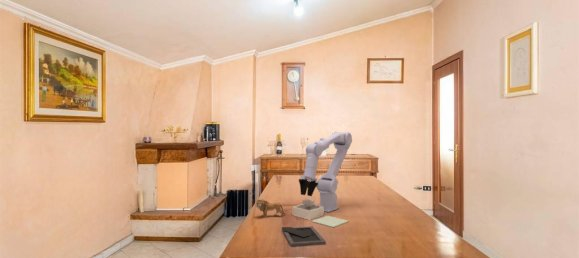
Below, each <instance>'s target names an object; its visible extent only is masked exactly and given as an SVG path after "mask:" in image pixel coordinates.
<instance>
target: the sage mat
mask: <svg viewBox="0 0 579 258" xmlns="http://www.w3.org/2000/svg"><path fill="white" fill-rule="evenodd" d="M311 222H312V223H314V224H319V225H323V226H325V227H329V228H336V227H338V226H342V225H344V224H346V223H349V220H348V219H347V220H346V219H342V218H338V217H334V216H331V215H326V216H321V217H318V218H315V219H312V220H311Z"/></svg>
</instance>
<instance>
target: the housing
mask: <svg viewBox="0 0 579 258" xmlns="http://www.w3.org/2000/svg"><path fill="white" fill-rule="evenodd" d="M303 205H305V204H302V203H301V204H298V205H294V206H292V211H291V212H292V213H291V214H292V216H293V217H297V218H300V219H305V220H309V221H310V220H311V221H312V220H315V219H318V218H321V217H324V215H325V211H324V207H323V206H320V205H316V204H314V205H312V206H316V207H320V208H317V209H313V210H310V211H309V210H305V209H301V208H297V207H300V206H303Z"/></svg>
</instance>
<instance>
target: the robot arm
mask: <svg viewBox="0 0 579 258" xmlns="http://www.w3.org/2000/svg"><path fill="white" fill-rule="evenodd" d="M352 143H353V135H352V134H351V132H349V131H348V132H338V131H335V132H332V133H331V135H330V136H328V137H327V138H320V139H319V140H318V141H315V142H313V143H310V144H308V145H307V146H306V148H305V153H306V155H305V157H306V161H305V166H304V172H303V174H301V175H300V178H298V183H299V187H300V189H299V190H300V195H301V196H306V195H307V196H308V197H313V194H314V192H315V189H316V190H318V193H319V206H323V207H324V212H326V213H330V212H332V211H336V210H339V207H338V195H337V193H336V191H338V190H337V189H338V185H339V181H338V179H337V176H338V173H339V171H340V168H341V167H342V165H343V162H344V159H345V157H346V155H347V152H348V150H349V149H350V147H351V144H352ZM332 144H333V145H334V146H333V147H334V148H335V150H336V152H335V154H334V156H333V158H332V161H331V162H330V164H329V167H328V169H327V171H326V173H325V174H322V175H321V176H320V178H319V179H318V178H316V176H317V171H318V169H317V168H318V163H319V159H320V158H319V157H320V156H321V155H322V154H323V152H325V151H326V150H328V149H329V148H330V145H332Z"/></svg>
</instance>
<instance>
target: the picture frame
mask: <svg viewBox="0 0 579 258" xmlns="http://www.w3.org/2000/svg"><path fill="white" fill-rule="evenodd" d="M281 231H282V233H283V236H284V238H286V241H287V243H288V244H289V246H290V247H291V248H293V247H295V248H296V247H307V246H308V247H309V246H320V245H323V246H324V245H327V242H326V240H325V239H324V238H323V236H321V234H320V233H319V232H318V231H317V229H315V227H313V225H312V226H299V227H297V226H296V227H292V226H282V227H281Z"/></svg>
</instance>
